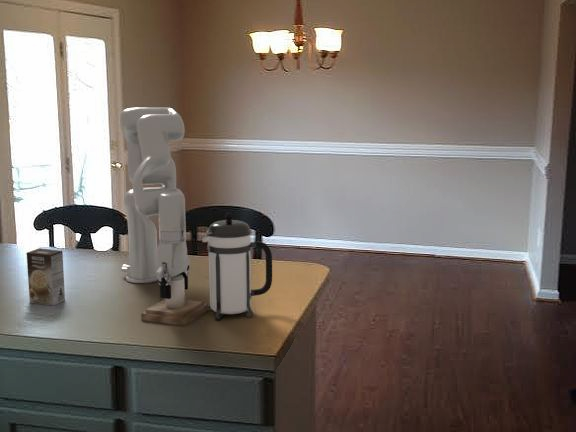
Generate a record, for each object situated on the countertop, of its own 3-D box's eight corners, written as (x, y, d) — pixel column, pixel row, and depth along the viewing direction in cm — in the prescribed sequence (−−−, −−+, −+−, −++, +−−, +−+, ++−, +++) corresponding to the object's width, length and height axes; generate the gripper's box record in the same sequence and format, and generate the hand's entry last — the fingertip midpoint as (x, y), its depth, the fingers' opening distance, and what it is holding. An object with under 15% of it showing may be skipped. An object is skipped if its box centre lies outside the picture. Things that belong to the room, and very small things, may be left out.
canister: (161, 306, 200) (160, 277, 198) (171, 301, 205) (170, 272, 204) (178, 309, 198) (178, 279, 196) (188, 303, 203) (187, 274, 202)
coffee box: (28, 303, 214) (24, 252, 211) (42, 297, 220) (38, 247, 217) (53, 306, 211) (49, 254, 208) (66, 300, 217) (63, 250, 214)
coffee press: (238, 325, 193) (237, 219, 187) (194, 315, 201) (191, 214, 196) (273, 309, 207) (273, 210, 202) (231, 300, 216) (229, 205, 210)
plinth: (141, 320, 198) (140, 310, 197) (166, 305, 211) (166, 296, 210) (184, 325, 193) (184, 315, 192) (207, 310, 206) (207, 301, 205)
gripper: (176, 229, 207) (178, 284, 210) (144, 240, 191) (147, 300, 194) (198, 230, 204) (200, 287, 207) (168, 243, 188) (170, 303, 191)
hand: (174, 293), depth 201 cm, fingers open, 9 cm apart
